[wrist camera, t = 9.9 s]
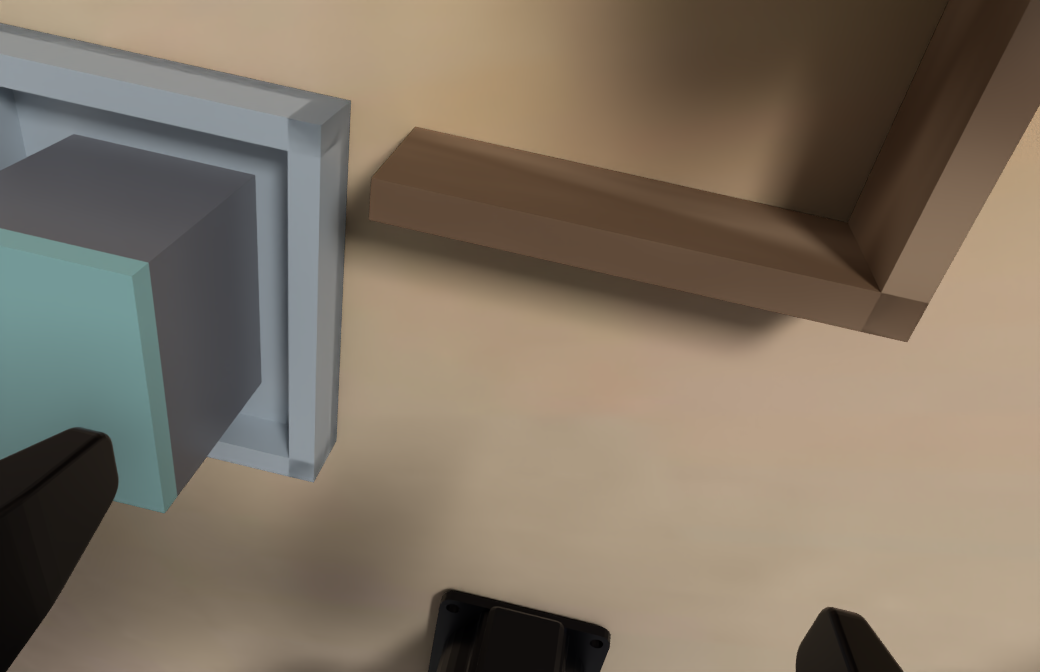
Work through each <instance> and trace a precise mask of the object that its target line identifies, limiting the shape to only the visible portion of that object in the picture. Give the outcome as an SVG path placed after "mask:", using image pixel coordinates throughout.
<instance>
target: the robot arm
mask: <svg viewBox="0 0 1040 672" xmlns="http://www.w3.org/2000/svg"><path fill="white" fill-rule="evenodd" d="M118 484H119V477H118V472H117V466H116V461H115V455H114V450H113V444H112V440H111V438H110V437H109V436H108V435H107V434H106V433H104V432H100V431H95V430H91V429H87V428H83V427H73V428H70V429H67V430H65V431H62V432H60V433H58V434H56V435H54V436H51V437H49V438H47V439H45V440H43V441H40V442H38V443H36V444H34V445H31V446H29V447H27V448H25V449H23V450H20V451H18V452H16V453H14V454H12V455H9V456H7V457H5V458H3V459H0V672H6V671H7V670H8V668H9V667H10V666H11V664H12V663H13V661H14V660H15V658H16V657H17V656H18V654H19V653H20V651H21V650H22V649H23V647H24V646H25V644H26V643H27V642H28V640H29V639H30V637H31V636H32V635H33V633H34V632H35V630H36V629H37V628H38V626H39V625H40V623H41V622H42V620H43V619H44V618H45V616H46V615H47V613H48V612H49V610H50V609H51V607H52V606H53V604H54V603H55V601H56V599H57V598H58V596H59V594H60V593H61V591H62V589H63V588H64V586H65V584H66V582H67V581H68V579H69V577H70V575H71V574H72V572H73V570H74V568H75V567H76V565H77V563H78V561H79V560H80V558H81V556H82V554H83V552H84V551H85V549H86V547H87V545H88V544H89V542H90V540H91V538H92V537H93V535H94V533H95V531H96V530H97V528H98V526H99V524H100V523H101V521H102V519H103V517H104V515H105V514H106V512H107V510H108V508H109V507H110V505H111V503H112V501H113V500H114V498H115V495H116V493H117V489H118ZM610 635H611V634H610V633H609V631H608V630H606V629H605V628H603V627H600V626H596V625H592V624H588V623H584V622H579V621H575V620H571V619H567V618H563V617H559V616H555V615H551V614H547V613H543V612H539V611H535V610H531V609H526V608H522V607H518V606H514V605H510V604H506V603H502V602H498V601H494V600H490V599H486V598H482V597H477V596H473V595H469V594H465V593H461V592H457V591H448V592H446V593H444V595H443V596H442V600H441V603H440V607H439V613H438V619H437V625H436V630H435V636H434V642H433V647H432V653H431V659H430V665H429V670H428V672H600V670H601V668H602V665H603V663H604V660H605V658H606V655H607V653H608V650H609V648H610ZM796 672H903V670H902V669H901V667H900V666H899V665H898V663H897V662H896V661H895V659H894V658H893V656H892V655H891V654H890V652H889V651H888V650H887V648H886V647H885V646H884V644H883V643H882V641H881V640H880V639H879V637H878V636H877V635H876V633H875V632H874V631H873V629H872V628H871V626H870V625H869V624H868V622H867V621H866V620H865V619H864V618H863V617H862V616H861V615H859V614H857V613H854V612H850V611H846V610H842V609H838V608H834V607H827V608H825V609H823V610H822V611H821V612H820V614H819V615H818V617H817V618H816V620H815V621H814V623H813V625H812V626H811V628H810V629H809V631H808V633H807V634H806V636H805V637H804V639H803V640H802V642H801V644H800V646H799V649H798V652H797V657H796Z"/></svg>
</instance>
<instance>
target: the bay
mask: <svg viewBox="0 0 1040 672" xmlns="http://www.w3.org/2000/svg"><path fill="white" fill-rule="evenodd" d="M1039 105H1040V0H949V1H948V4H947V6H946V8H945V10H944V12H943V15H942V17H941V19H940V21H939V23H938V26H937V28H936V30H935V32H934V34H933V37H932V39H931V41H930V43H929V45H928V48H927V50H926V52H925V54H924V56H923V58H922V61H921V63H920V65H919V67H918V69H917V72H916V74H915V76H914V78H913V80H912V83H911V85H910V87H909V89H908V91H907V94H906V96H905V98H904V100H903V102H902V105H901V107H900V109H899V111H898V113H897V116H896V118H895V120H894V122H893V124H892V127H891V129H890V131H889V133H888V135H887V138H886V140H885V142H884V144H883V146H882V149H881V151H880V153H879V155H878V157H877V160H876V162H875V164H874V166H873V168H872V171H871V173H870V175H869V177H868V179H867V182H866V184H865V186H864V188H863V190H862V193H861V195H860V197H859V199H858V201H857V204H856V206H855V208H854V210H853V212H852V215H851V217H850V219H849V221H848V223H846V222H842V221H837V220H833V219H828V218H824V217H819V216H815V215H810V214H806V213H801V212H797V211H792V210H788V209H783V208H779V207H774V206H770V205H765V204H761V203H756V202H752V201H747V200H743V199H738V198H734V197H729V196H725V195H720V194H716V193H711V192H707V191H702V190H698V189H693V188H689V187H684V186H680V185H675V184H671V183H666V182H662V181H657V180H653V179H648V178H644V177H639V176H635V175H630V174H626V173H621V172H617V171H612V170H608V169H603V168H599V167H594V166H590V165H585V164H581V163H576V162H572V161H567V160H563V159H558V158H554V157H549V156H545V155H540V154H536V153H531V152H527V151H522V150H518V149H513V148H509V147H504V146H500V145H495V144H491V143H486V142H482V141H477V140H473V139H468V138H464V137H459V136H455V135H450V134H446V133H441V132H437V131H432V130H428V129H423V128H419V127H415V128H414V129H413V130H412V131H411V133H410V134H409V135H408V136H407V137H406V138H405V140H404V141H403V142H402V143H401V144H400V145H399V147H398V148H397V149H396V150H395V151H394V152H393V153H392V155H391V156H390V157H389V158H388V159H387V160H386V162H385V163H384V164H383V165H382V166H381V167H380V168H379V170H378V171H377V172H376V173H375V174H374V175H373V177H372V178H371V192H370V208H369V220H372V221H376V222H381V223H385V224H389V225H394V226H398V227H403V228H407V229H411V230H416V231H420V232H425V233H429V234H433V235H438V236H442V237H447V238H451V239H455V240H460V241H464V242H469V243H473V244H477V245H482V246H486V247H491V248H495V249H499V250H504V251H508V252H513V253H517V254H521V255H526V256H530V257H535V258H539V259H543V260H548V261H552V262H557V263H561V264H565V265H570V266H574V267H579V268H583V269H587V270H592V271H596V272H601V273H605V274H609V275H614V276H618V277H623V278H627V279H631V280H636V281H640V282H645V283H649V284H653V285H658V286H662V287H667V288H671V289H675V290H680V291H684V292H689V293H693V294H697V295H702V296H706V297H710V298H715V299H719V300H724V301H728V302H732V303H737V304H741V305H746V306H750V307H754V308H759V309H763V310H768V311H772V312H776V313H781V314H785V315H790V316H794V317H798V318H803V319H807V320H812V321H816V322H820V323H825V324H829V325H834V326H838V327H842V328H847V329H851V330H856V331H860V332H864V333H869V334H873V335H878V336H882V337H886V338H891V339H895V340H900V341H904V342H908V340H909V338H910V336H911V334H912V333H913V331H914V329H915V327H916V326H917V324H918V322H919V320H920V318H921V317H922V315H923V313H924V311H925V309H926V308H927V306H928V304H929V302H930V300H931V299H932V297H933V295H934V293H935V291H936V290H937V288H938V286H939V284H940V283H941V281H942V279H943V277H944V275H945V274H946V272H947V270H948V268H949V266H950V265H951V263H952V261H953V259H954V257H955V256H956V254H957V252H958V250H959V249H960V247H961V245H962V243H963V241H964V240H965V238H966V236H967V234H968V232H969V231H970V229H971V227H972V225H973V223H974V222H975V220H976V218H977V216H978V214H979V213H980V211H981V209H982V207H983V206H984V204H985V202H986V200H987V198H988V197H989V195H990V193H991V191H992V189H993V188H994V186H995V184H996V182H997V180H998V179H999V177H1000V175H1001V173H1002V171H1003V170H1004V168H1005V166H1006V164H1007V163H1008V161H1009V159H1010V157H1011V155H1012V154H1013V152H1014V150H1015V148H1016V146H1017V145H1018V143H1019V141H1020V139H1021V137H1022V136H1023V134H1024V132H1025V130H1026V128H1027V127H1028V125H1029V123H1030V121H1031V120H1032V118H1033V116H1034V114H1035V112H1036V111H1037V109H1038V107H1039Z"/></svg>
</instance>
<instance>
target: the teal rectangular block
mask: <svg viewBox="0 0 1040 672" xmlns="http://www.w3.org/2000/svg"><path fill="white" fill-rule="evenodd" d="M261 383H262V378H261V344H260V311H259V278H258V245H257V212H256V179H255V175H253V174H249V173H244V172H240V171H235V170H231V169H227V168H222V167H218V166H213V165H209V164H205V163H200V162H196V161H191V160H187V159H182V158H178V157H174V156H169V155H165V154H160V153H156V152H152V151H147V150H143V149H138V148H134V147H129V146H125V145H121V144H116V143H112V142H107V141H103V140H99V139H94V138H90V137H85V136H81V135H76V134H73V135H71V136H69V137H67V138H65V139H63V140H61V141H59V142H57V143H55V144H53V145H51V146H49V147H47V148H45V149H43V150H41V151H39V152H36V153H34V154H32V155H30V156H28V157H26V158H24V159H22V160H20V161H18V162H16V163H14V164H12V165H10V166H8V167H6V168H4V169H2V170H0V459H3V458H5V457H7V456H9V455H12V454H14V453H16V452H18V451H20V450H23V449H25V448H27V447H29V446H31V445H34V444H36V443H38V442H40V441H43V440H45V439H47V438H49V437H51V436H54V435H56V434H58V433H60V432H62V431H65V430H67V429H70V428H73V427H83V428H87V429H91V430H95V431H100V432H104V433H106V434H107V435H108V436H109V437H110V438H111V440H112V444H113V450H114V455H115V461H116V466H117V472H118V477H119V484H118V489H117V493H116V495H115V498H114V500H113V501H116V502H120V503H124V504H129V505H133V506H137V507H141V508H145V509H149V510H153V511H157V512H161V513H165V512H166V511H167V510H168V508H169V507H170V506H171V504H172V503H173V502H174V500H175V499H176V498H177V496H178V495H179V494H180V492H181V491H182V489H183V488H184V487H185V485H186V484H187V483H188V481H189V480H190V479H191V477H192V476H193V475H194V473H195V472H196V471H197V469H198V468H199V467H200V465H201V464H202V462H203V461H204V460H205V458H206V457H207V456H208V454H209V453H210V452H211V450H212V449H213V448H214V446H215V445H216V444H217V442H218V441H219V440H220V438H221V437H222V436H223V434H224V433H225V431H226V430H227V429H228V427H229V426H230V425H231V423H232V422H233V421H234V419H235V418H236V417H237V415H238V414H239V413H240V411H241V410H242V409H243V407H244V406H245V404H246V403H247V402H248V400H249V399H250V398H251V396H252V395H253V394H254V392H255V391H256V390H257V388H258V387H259V386H260V384H261Z"/></svg>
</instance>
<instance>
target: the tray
mask: <svg viewBox="0 0 1040 672" xmlns="http://www.w3.org/2000/svg"><path fill="white" fill-rule="evenodd" d="M350 110H351V101H350V100H346V99H341V98H337V97H332V96H327V95H323V94H318V93H314V92H309V91H305V90H300V89H296V88H291V87H287V86H282V85H278V84H273V83H269V82H264V81H260V80H255V79H251V78H246V77H242V76H237V75H233V74H228V73H224V72H219V71H215V70H210V69H206V68H201V67H197V66H192V65H188V64H183V63H178V62H174V61H169V60H165V59H160V58H156V57H151V56H147V55H142V54H138V53H133V52H129V51H124V50H120V49H115V48H111V47H106V46H102V45H97V44H93V43H88V42H84V41H79V40H75V39H70V38H66V37H61V36H57V35H52V34H48V33H43V32H39V31H34V30H29V29H25V28H20V27H16V26H11V25H7V24H2V23H0V170H2V169H4V168H6V167H8V166H10V165H12V164H14V163H16V162H18V161H20V160H22V159H24V158H26V157H28V156H30V155H32V154H34V153H36V152H39V151H41V150H43V149H45V148H47V147H49V146H51V145H53V144H55V143H57V142H59V141H61V140H63V139H65V138H67V137H69V136H71V135H73V134H76V135H81V136H85V137H90V138H94V139H99V140H103V141H107V142H112V143H116V144H121V145H125V146H129V147H134V148H138V149H143V150H147V151H152V152H156V153H160V154H165V155H169V156H174V157H178V158H182V159H187V160H191V161H196V162H200V163H205V164H209V165H213V166H218V167H222V168H227V169H231V170H235V171H240V172H244V173H249V174H253V175H255V179H256V212H257V245H258V278H259V311H260V344H261V378H262V383H261V384H260V386H259V387H258V388H257V390H256V391H255V392H254V394H253V395H252V396H251V398H250V399H249V400H248V402H247V403H246V404H245V406H244V407H243V409H242V410H241V411H240V413H239V414H238V415H237V417H236V418H235V419H234V421H233V422H232V423H231V425H230V426H229V427H228V429H227V430H226V431H225V433H224V434H223V436H222V437H221V438H220V440H219V441H218V442H217V444H216V445H215V446H214V448H213V449H212V450H211V452H210V453H209V454H208V456H207V457H210V458H214V459H219V460H223V461H227V462H231V463H235V464H239V465H243V466H248V467H252V468H256V469H260V470H264V471H268V472H272V473H277V474H281V475H285V476H289V477H293V478H297V479H301V480H306V481H310V482H314V481H315V479H316V477H317V475H318V474H319V472H320V470H321V468H322V466H323V464H324V463H325V461H326V459H327V457H328V455H329V453H330V452H331V450H332V448H333V446H334V444H335V442H336V437H337V414H338V390H339V367H340V344H341V320H342V297H343V274H344V250H345V227H346V203H347V180H348V157H349V133H350Z"/></svg>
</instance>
